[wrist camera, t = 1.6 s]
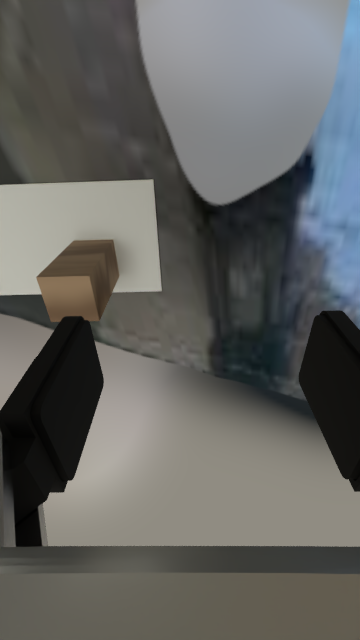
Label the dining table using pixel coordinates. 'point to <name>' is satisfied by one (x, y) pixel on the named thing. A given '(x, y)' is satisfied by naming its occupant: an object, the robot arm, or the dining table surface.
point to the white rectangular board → (78, 230)
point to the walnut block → (80, 280)
